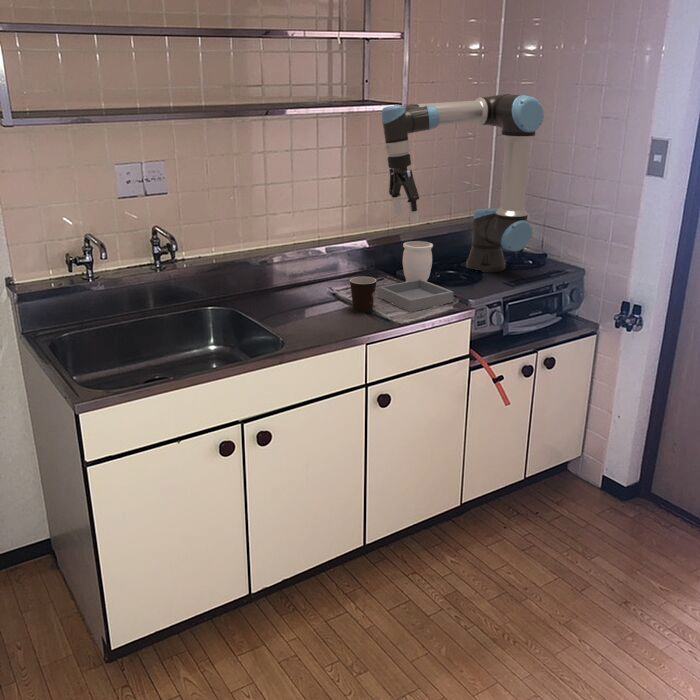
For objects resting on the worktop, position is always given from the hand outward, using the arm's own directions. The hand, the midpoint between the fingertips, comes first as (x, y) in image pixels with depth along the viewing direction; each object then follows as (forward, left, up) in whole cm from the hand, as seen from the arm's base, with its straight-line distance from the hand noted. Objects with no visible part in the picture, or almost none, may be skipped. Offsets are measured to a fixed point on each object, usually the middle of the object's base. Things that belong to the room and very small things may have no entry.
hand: (406, 218), depth 259 cm
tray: (+2, +9, -26) cm, 28 cm away
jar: (-10, -6, -26) cm, 29 cm away
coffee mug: (+21, +7, -26) cm, 35 cm away
